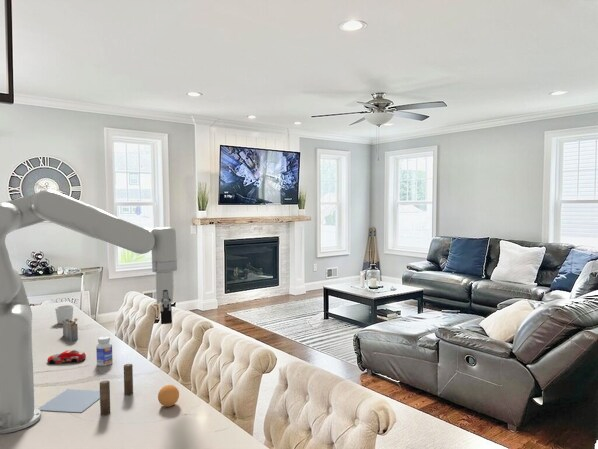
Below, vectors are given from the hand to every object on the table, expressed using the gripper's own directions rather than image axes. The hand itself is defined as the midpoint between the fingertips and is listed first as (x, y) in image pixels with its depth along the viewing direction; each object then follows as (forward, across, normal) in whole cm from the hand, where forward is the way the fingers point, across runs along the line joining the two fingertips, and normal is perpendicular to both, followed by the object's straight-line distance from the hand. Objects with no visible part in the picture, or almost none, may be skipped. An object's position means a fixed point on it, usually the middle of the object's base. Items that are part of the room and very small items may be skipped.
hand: (166, 319), depth 138 cm
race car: (+23, -38, -37) cm, 58 cm away
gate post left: (+22, +12, -17) cm, 31 cm away
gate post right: (+22, 0, -12) cm, 26 cm away
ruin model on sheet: (+23, -70, -42) cm, 85 cm away
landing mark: (+22, 0, -28) cm, 35 cm away
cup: (+22, -99, -50) cm, 113 cm away
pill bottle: (+23, -31, -23) cm, 45 cm away
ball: (+20, +12, 0) cm, 23 cm away
